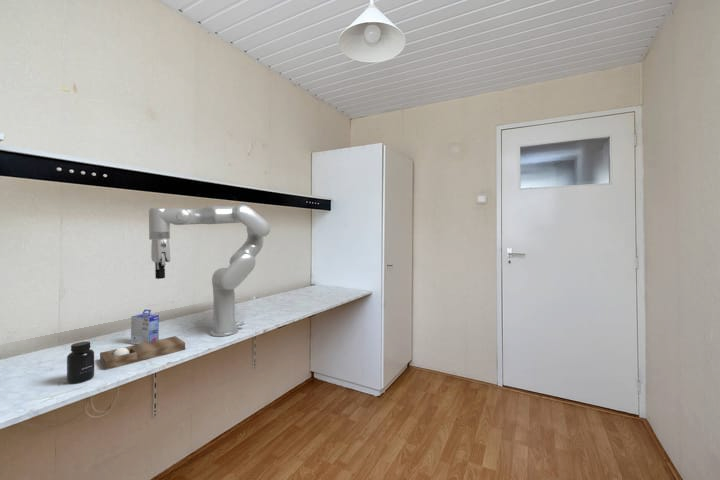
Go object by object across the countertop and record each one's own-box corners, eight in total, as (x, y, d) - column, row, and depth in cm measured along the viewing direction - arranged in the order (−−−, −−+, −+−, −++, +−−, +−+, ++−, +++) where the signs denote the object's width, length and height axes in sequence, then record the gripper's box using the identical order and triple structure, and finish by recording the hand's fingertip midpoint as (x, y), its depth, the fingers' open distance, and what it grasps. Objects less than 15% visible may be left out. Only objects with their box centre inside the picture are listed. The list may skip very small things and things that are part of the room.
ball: (126, 359, 122) (129, 346, 123) (128, 362, 118) (132, 348, 119) (110, 360, 118) (113, 346, 119) (112, 363, 115) (115, 349, 116)
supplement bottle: (87, 382, 102) (87, 346, 101) (62, 385, 100) (61, 348, 99) (98, 373, 108) (98, 339, 108) (74, 376, 106) (74, 341, 106)
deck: (175, 342, 139) (175, 336, 138) (185, 349, 130) (185, 342, 130) (100, 360, 119) (99, 352, 119) (106, 369, 111) (106, 361, 111)
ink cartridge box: (159, 341, 140) (159, 309, 140) (149, 345, 135) (148, 312, 135) (141, 340, 142) (141, 308, 142) (130, 344, 137) (129, 311, 137)
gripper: (175, 236, 133) (175, 279, 133) (164, 236, 143) (164, 275, 143) (154, 236, 127) (155, 281, 128) (144, 236, 137) (145, 277, 138)
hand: (160, 278), depth 135 cm, fingers closed
